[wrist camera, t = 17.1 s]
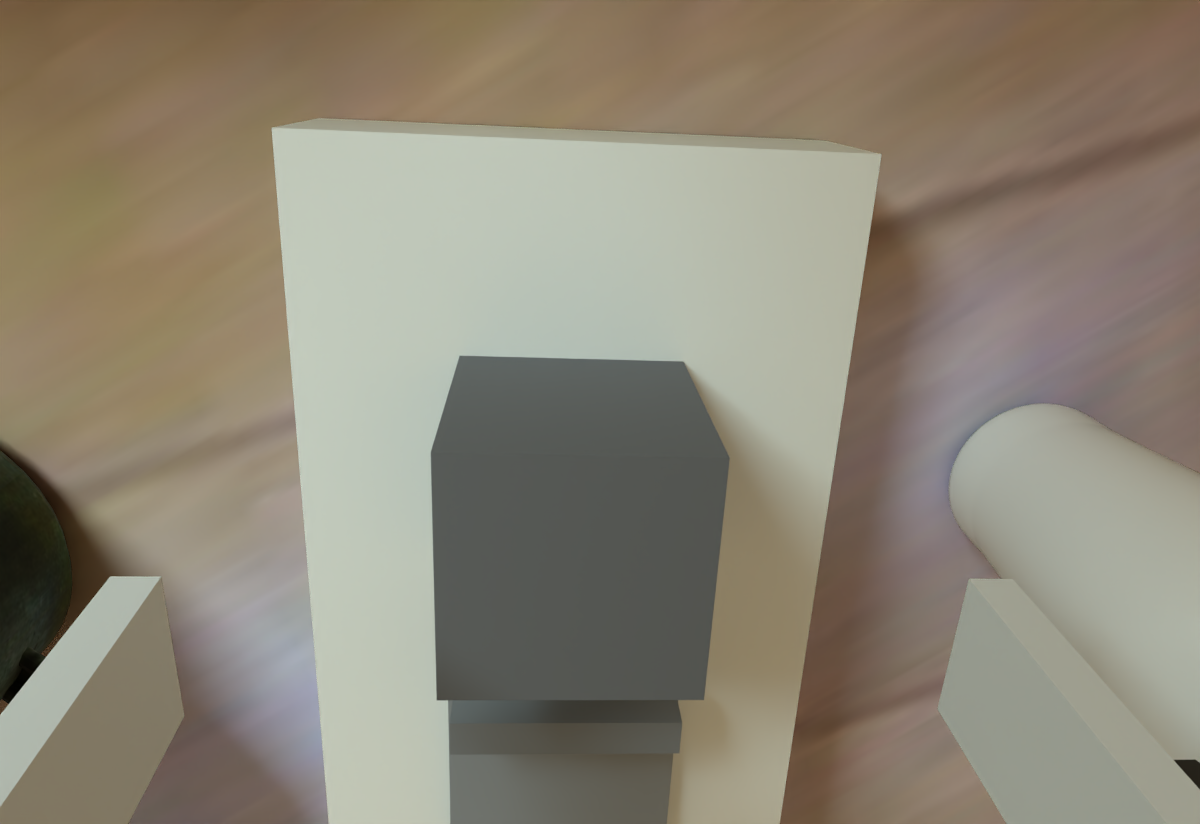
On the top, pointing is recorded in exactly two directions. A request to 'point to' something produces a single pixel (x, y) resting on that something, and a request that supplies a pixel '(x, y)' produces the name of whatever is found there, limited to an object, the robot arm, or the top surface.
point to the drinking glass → (1096, 551)
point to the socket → (576, 331)
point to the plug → (575, 530)
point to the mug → (28, 577)
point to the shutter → (561, 761)
